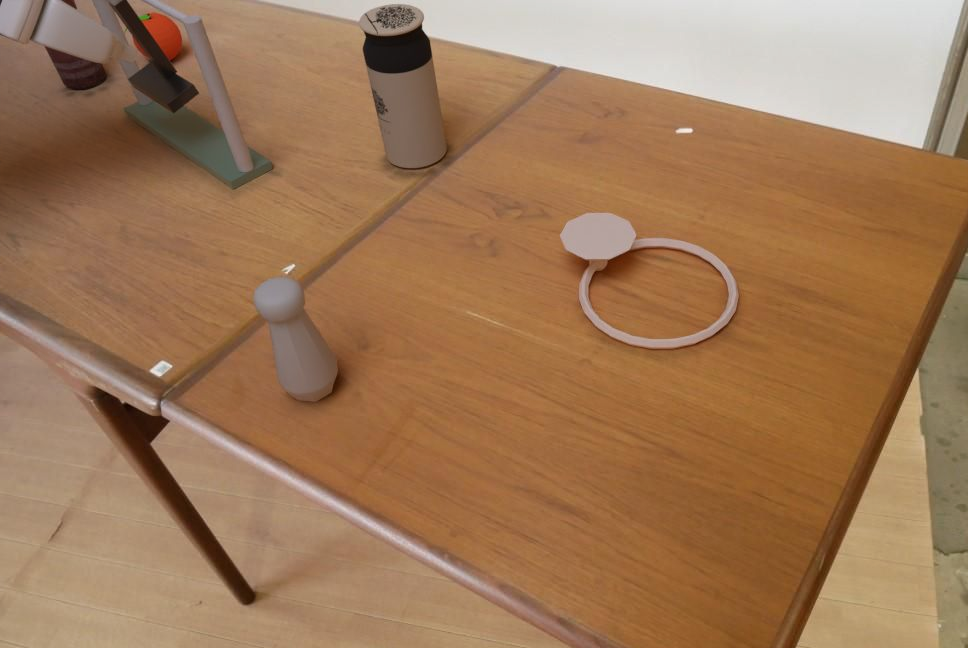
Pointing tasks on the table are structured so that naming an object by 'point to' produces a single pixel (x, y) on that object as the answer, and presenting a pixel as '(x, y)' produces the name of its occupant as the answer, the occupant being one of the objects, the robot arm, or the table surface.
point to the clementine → (162, 34)
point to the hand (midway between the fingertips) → (113, 43)
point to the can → (76, 67)
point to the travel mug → (403, 85)
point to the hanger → (154, 65)
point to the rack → (185, 128)
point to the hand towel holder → (615, 236)
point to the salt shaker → (295, 341)
